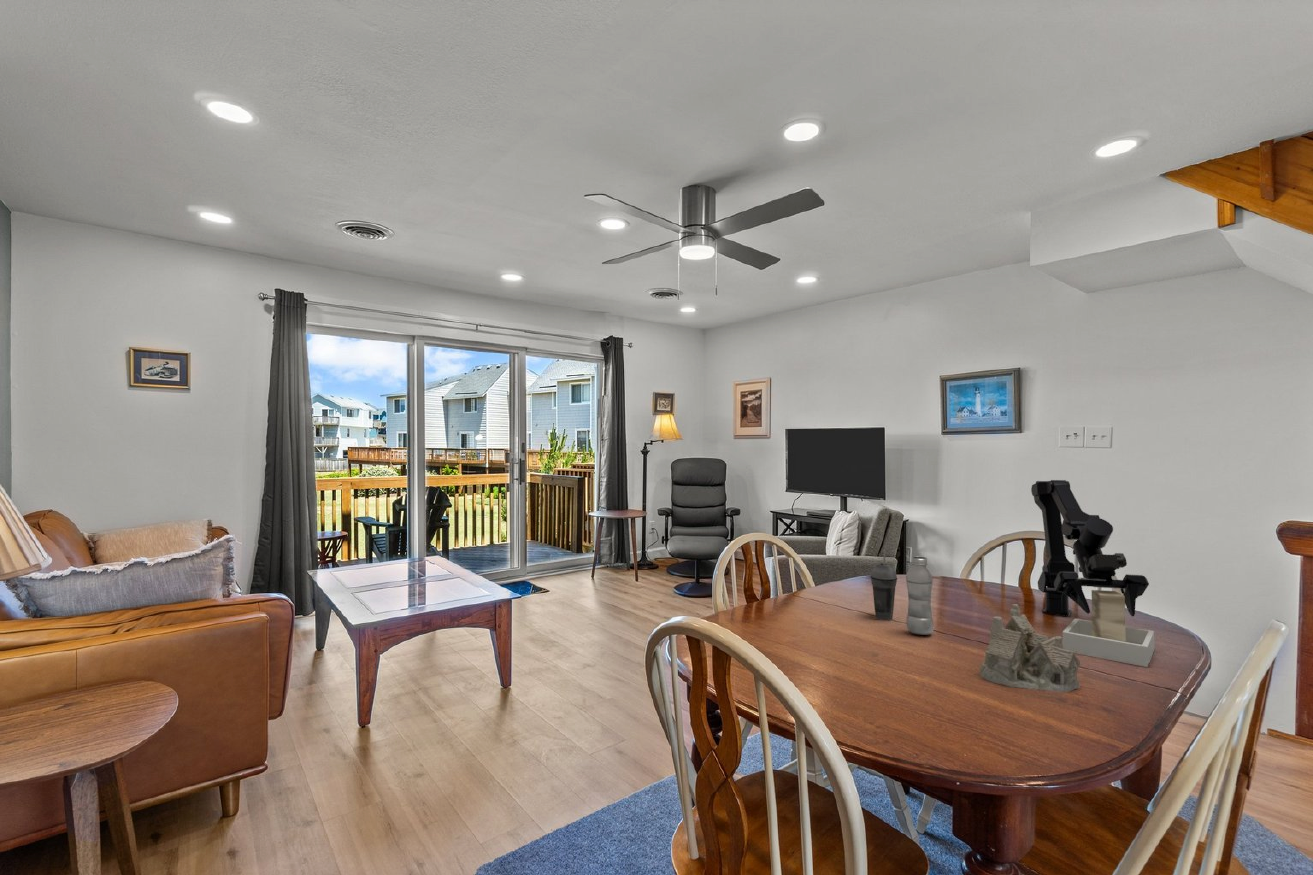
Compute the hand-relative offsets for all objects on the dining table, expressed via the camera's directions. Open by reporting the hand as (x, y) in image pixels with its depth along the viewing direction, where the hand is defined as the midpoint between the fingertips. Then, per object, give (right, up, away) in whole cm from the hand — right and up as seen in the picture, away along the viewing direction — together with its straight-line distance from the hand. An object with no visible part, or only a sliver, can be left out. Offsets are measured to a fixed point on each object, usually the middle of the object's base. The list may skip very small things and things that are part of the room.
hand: (1110, 614), depth 146 cm
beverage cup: (-44, -10, +29) cm, 53 cm away
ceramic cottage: (-30, -9, -17) cm, 36 cm away
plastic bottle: (-40, -10, +14) cm, 43 cm away
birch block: (0, -8, +1) cm, 8 cm away
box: (0, -9, +1) cm, 9 cm away
